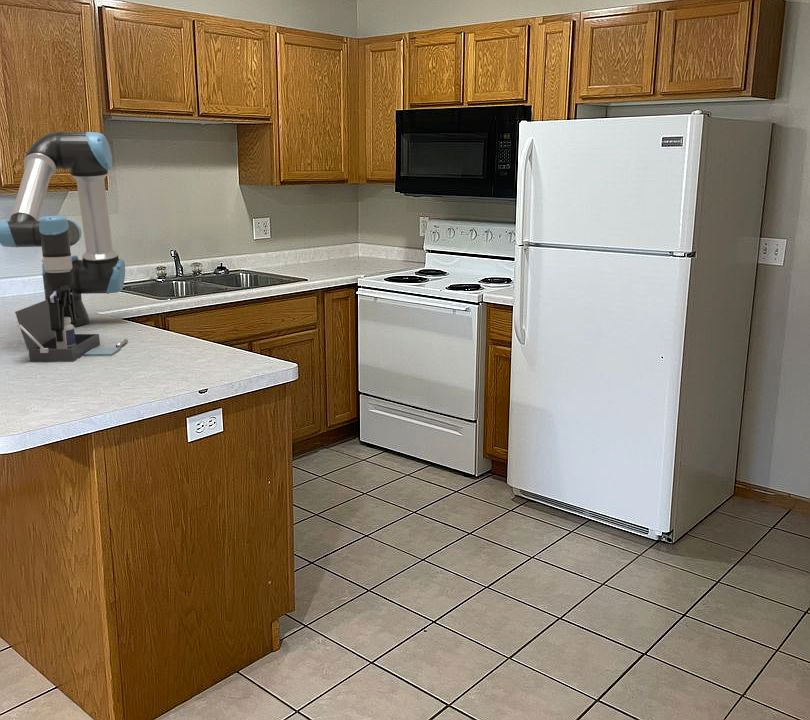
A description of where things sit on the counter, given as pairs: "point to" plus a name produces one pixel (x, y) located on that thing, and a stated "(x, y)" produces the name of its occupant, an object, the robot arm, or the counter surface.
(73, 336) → the pill bottle
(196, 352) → the counter surface
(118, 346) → the rod
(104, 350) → the mat
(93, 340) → the case
